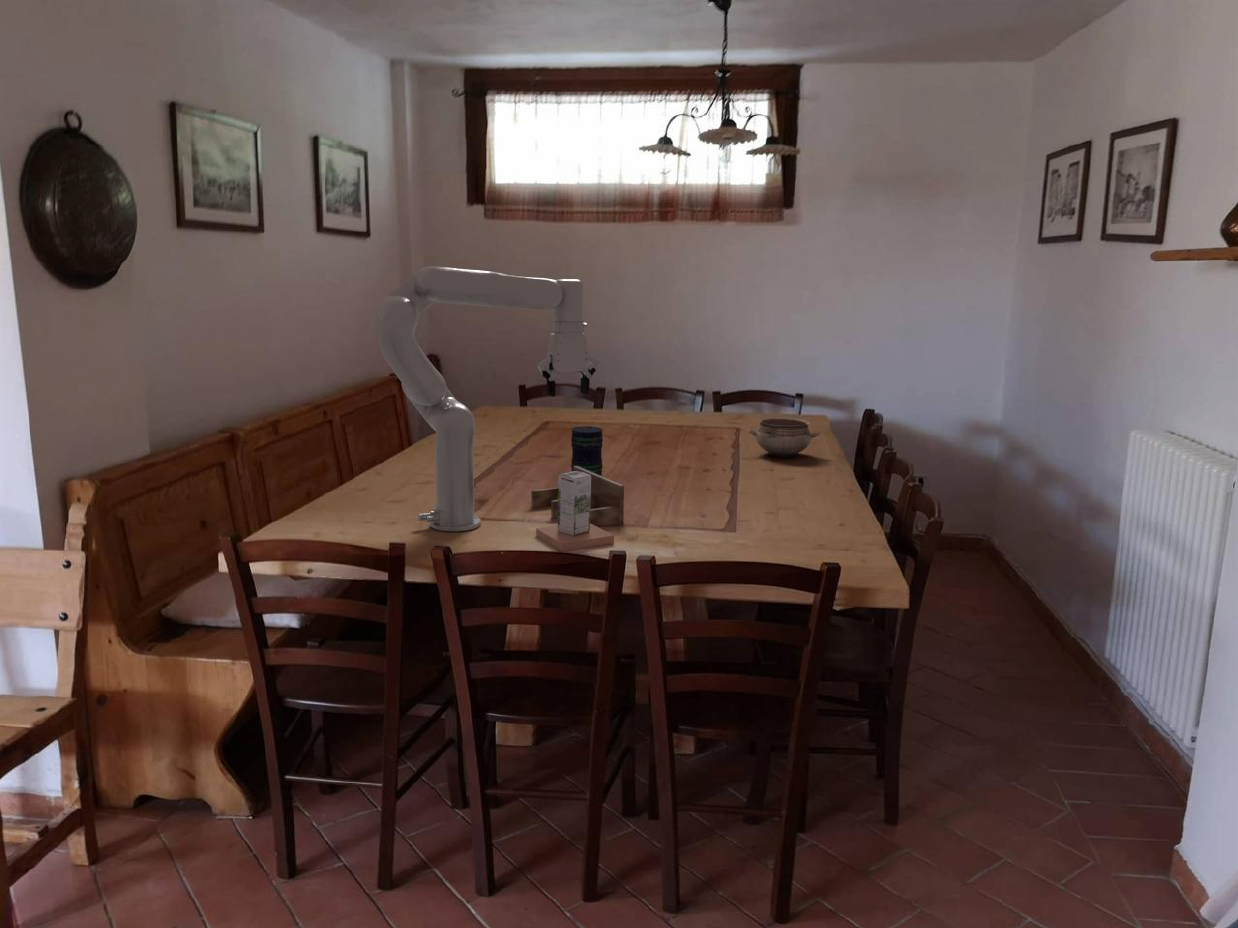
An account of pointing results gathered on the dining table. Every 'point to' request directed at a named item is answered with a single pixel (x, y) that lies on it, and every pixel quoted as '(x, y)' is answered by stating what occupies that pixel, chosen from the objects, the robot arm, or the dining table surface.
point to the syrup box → (574, 503)
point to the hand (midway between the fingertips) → (568, 394)
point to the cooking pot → (783, 435)
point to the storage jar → (587, 448)
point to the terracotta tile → (574, 538)
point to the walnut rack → (603, 500)
